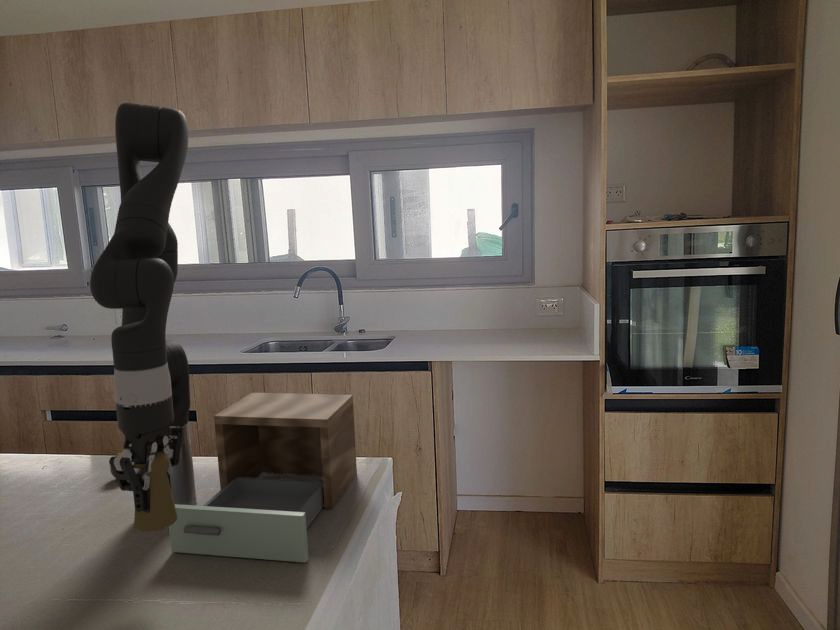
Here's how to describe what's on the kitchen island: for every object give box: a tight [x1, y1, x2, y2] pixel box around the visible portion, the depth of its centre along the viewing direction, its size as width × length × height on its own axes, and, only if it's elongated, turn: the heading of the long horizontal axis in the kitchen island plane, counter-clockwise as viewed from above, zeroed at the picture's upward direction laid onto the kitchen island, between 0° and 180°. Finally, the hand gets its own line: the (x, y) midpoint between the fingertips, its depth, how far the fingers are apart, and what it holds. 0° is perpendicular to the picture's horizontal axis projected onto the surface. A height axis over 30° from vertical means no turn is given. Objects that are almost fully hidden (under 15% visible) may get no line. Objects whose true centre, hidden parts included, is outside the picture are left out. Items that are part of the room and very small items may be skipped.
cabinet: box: [213, 392, 358, 511], centre depth 121 cm, size 23×16×18 cm
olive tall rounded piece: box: [133, 452, 178, 533], centre depth 88 cm, size 6×6×11 cm
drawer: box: [168, 477, 325, 563], centre depth 106 cm, size 24×22×8 cm
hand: (154, 504), depth 88 cm, fingers closed on olive tall rounded piece, 4 cm apart
